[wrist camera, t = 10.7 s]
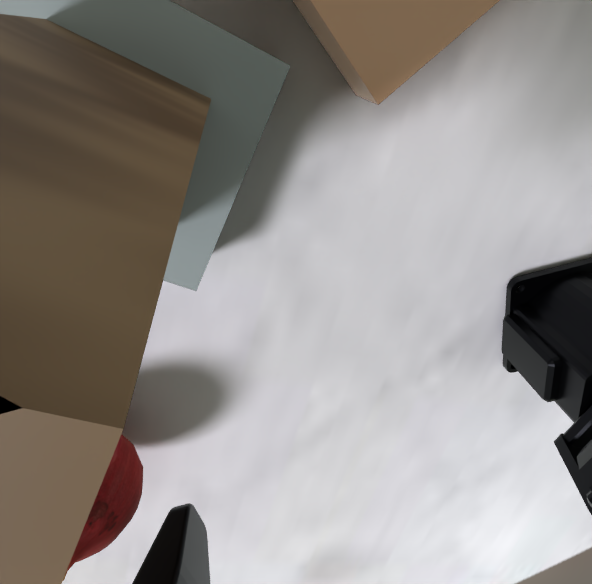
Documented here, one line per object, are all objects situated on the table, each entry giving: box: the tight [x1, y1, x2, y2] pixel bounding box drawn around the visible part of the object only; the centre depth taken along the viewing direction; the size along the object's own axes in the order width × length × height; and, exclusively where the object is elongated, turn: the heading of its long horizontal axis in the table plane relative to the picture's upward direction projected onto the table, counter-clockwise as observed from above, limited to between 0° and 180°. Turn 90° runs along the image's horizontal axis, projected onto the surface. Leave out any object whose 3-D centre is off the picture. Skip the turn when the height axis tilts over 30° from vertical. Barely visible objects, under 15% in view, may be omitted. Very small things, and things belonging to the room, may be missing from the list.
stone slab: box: [0, 0, 290, 291], centre depth 16 cm, size 9×9×3 cm
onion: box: [63, 434, 143, 580], centre depth 21 cm, size 6×6×8 cm
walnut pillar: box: [0, 14, 211, 584], centre depth 8 cm, size 5×5×14 cm
